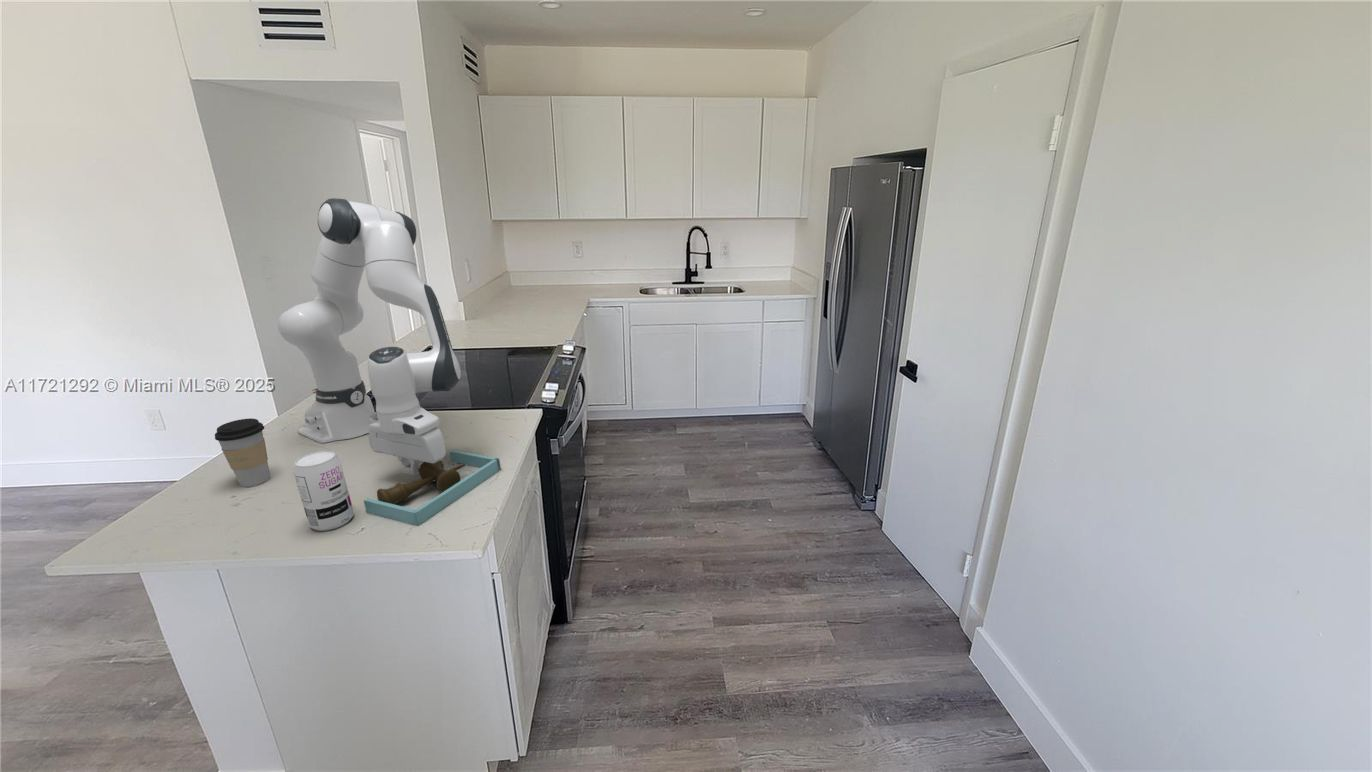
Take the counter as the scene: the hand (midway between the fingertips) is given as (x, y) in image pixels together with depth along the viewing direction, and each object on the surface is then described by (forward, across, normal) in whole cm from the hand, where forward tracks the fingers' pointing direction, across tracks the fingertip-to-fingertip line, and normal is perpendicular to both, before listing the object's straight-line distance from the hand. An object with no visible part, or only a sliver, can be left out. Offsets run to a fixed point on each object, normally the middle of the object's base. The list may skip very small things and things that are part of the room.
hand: (412, 472), depth 131 cm
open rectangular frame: (+3, +7, 0) cm, 8 cm away
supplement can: (+3, -4, -18) cm, 19 cm away
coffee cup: (+3, -39, -12) cm, 41 cm away
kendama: (+4, +6, -2) cm, 7 cm away
